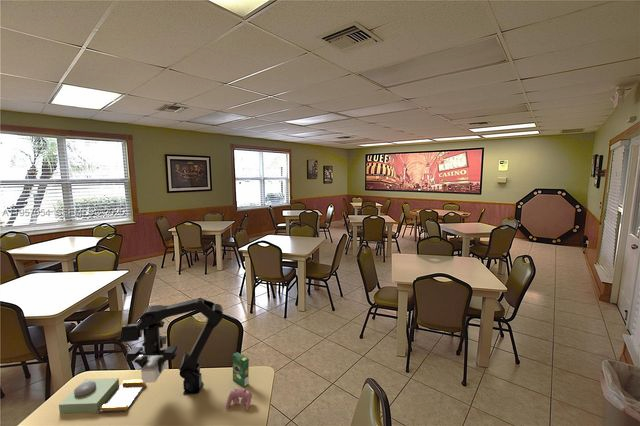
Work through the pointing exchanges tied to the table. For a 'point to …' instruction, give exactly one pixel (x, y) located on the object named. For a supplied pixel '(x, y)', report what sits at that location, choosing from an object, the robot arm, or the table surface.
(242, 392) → the video game controller
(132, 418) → the table surface
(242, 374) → the coffee box
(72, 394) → the green slab
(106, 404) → the white yellow tray
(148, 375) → the chute block
